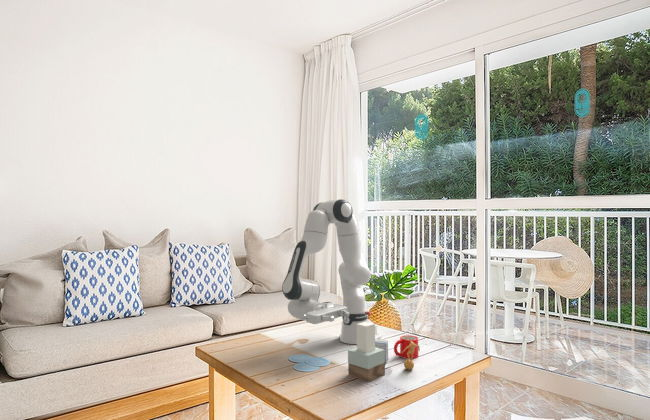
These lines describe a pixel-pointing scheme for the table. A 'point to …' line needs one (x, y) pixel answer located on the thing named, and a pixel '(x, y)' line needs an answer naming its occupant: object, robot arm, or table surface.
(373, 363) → the tower top
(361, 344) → the tall block
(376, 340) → the medicine box
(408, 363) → the figurine
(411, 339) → the mug
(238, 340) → the table surface
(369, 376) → the tower bottom
